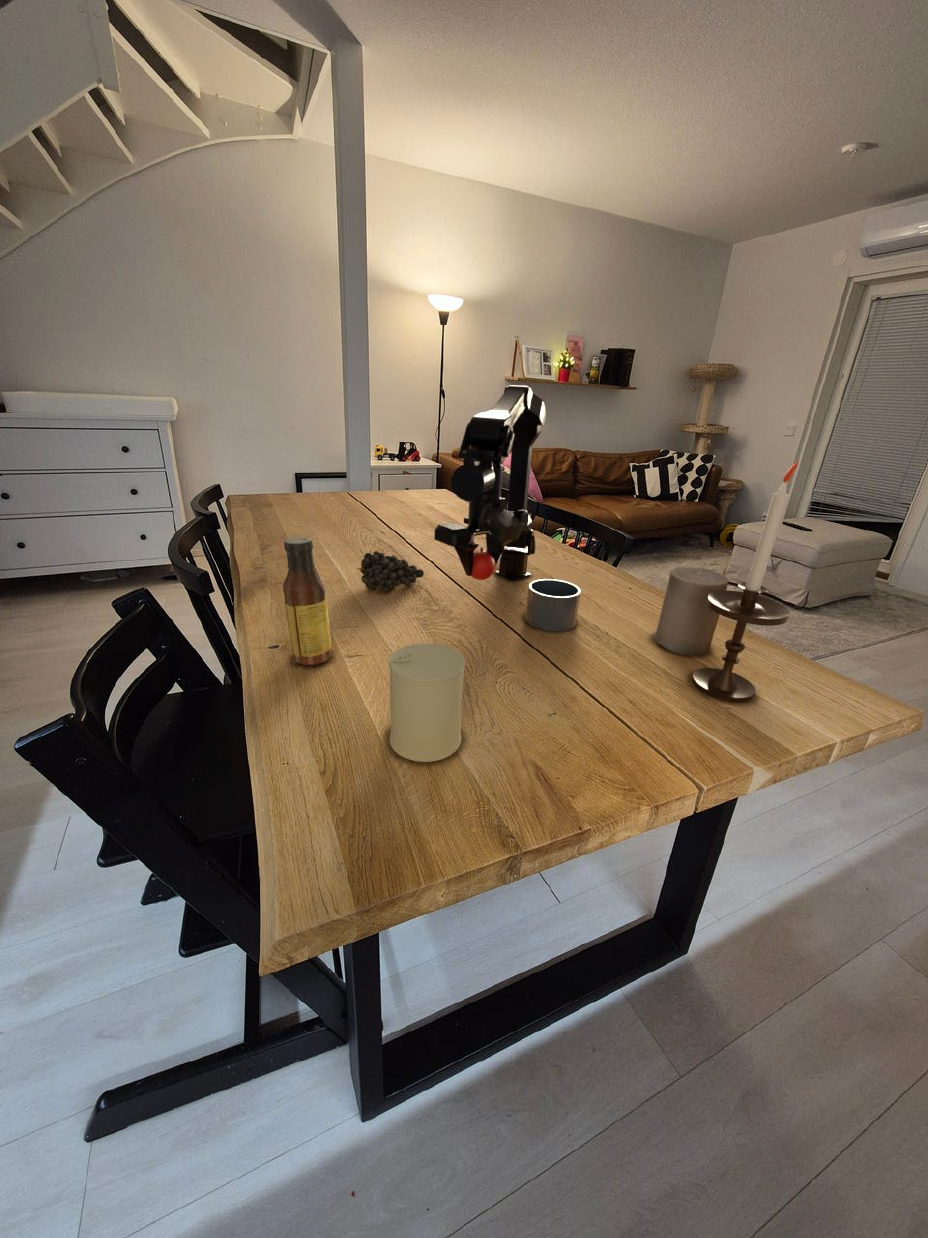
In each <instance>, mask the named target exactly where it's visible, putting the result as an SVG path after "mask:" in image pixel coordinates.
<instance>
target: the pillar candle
mask: <svg viewBox="0 0 928 1238" xmlns="http://www.w3.org/2000/svg"><path fill="white" fill-rule="evenodd" d="M729 580H730V579H729V578H728V577H727V576H726V575H724V574H722V573H721V572H719V571H715V570H713V569H708V568H704V567H699V566H688V565H687V566H685V565H683V566H676V567H671V568H670V569H669V576H668V579H667V584H666V589H665V593H664V597H663V601H662V606H661V608H660V609H661V610H660V614H659V619H658V622H657V626H656V627H657V628H656V631H655V636H654V641H655V642H656V643H657V644H658V645H660V646H662V647H663V648H665V649H666V650H668V651H670V652H672V653H676V654H679V655H685V656H702V655H705V654H707V653H709V652H710V648H711V645H712V641H713V638H714V635H715V631H716V628H717V626H718V625H717V624H718V621H719V618H720V616H721V615H720V614H718V613H716V612H714V611H712V610H711V609H710V608H709V607H708V606H707V599H708V596H709V594H710V593H712V592H715V591H727V589H728V586H729Z"/></svg>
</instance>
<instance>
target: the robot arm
mask: <svg viewBox="0 0 928 1238" xmlns="http://www.w3.org/2000/svg"><path fill="white" fill-rule="evenodd" d="M546 416H547V409H546V406H545V401H544V400H543V399H542V398H541V397H539V396H538V395H537V394H535V393H533V389H532V387H529V386H528V385H515V384H510V385H508V386H505V387H504V390H503V394H502V395H501V396H500V398H498V399H497V402H495V403H494V405H493V406H492V407H491V409H490V410H488V411H482V412H478V413H477V414H475V415H473V416H472V417H471V418H470V420H469V422H468V423H467V424H466V426H465V430H464V433H463V438H462V440H461V444H460V448H459V452H458V459H462V460H463V461H462V462H463V464H462V465H460V466H458V467H457V468H456V469H455V470H454V471H453V473H452V476H451V478H450V483H451V489H452V491H453V493H454V495H455V496H456V497H457V498H458V499H460V500H463V501H464V502H467V503H468V515H467V516H465V517H463V524H466V525H467V526H464V525H462V524H459V523H456V522H447V523H440V524H437V526H436V527H435V528H434V537H433V539H434V541H438V542H439V543H442V544H445V545H447V546H450V547H452V548H454V550H455V552H456V554H457V556H458V558H459V561H460V563H461V566H462V568H463V571H464V574H465V575H466V576H468V577H471V574H472V568H473V556H474V552H475V550H476V549H477V548H478V547H479V546H480V544H479V543H476V542H475V537H477V536H483V535H485V544H486V546H485V547H486V552H487V553H489V554H490V555H491V556H492V557H493V559H494V561H495V568H496V566H497V564H498V562H499V566H498V570H494V573H495V574H497V575H499V576H502V577H504V578H506V579H509V580H511V581H515V580H519V579H523V578H528V577H531V575H532V574H531V573H530V572H527V569H528V568H527V567H528V558H529V556H530V557H531V555H535V553H536V537H535V534H534V533H535V532H534V530H533V520H532V518H531V516H530V514H529V512H528V510H527V509H528V498H529V488H530V477H531V467H532V455H533V446H534V444H535V442H536V441H537V440H538V438H539V436H540V435H541V433H542V430H543V429H542V428H543V426H544V425H545V422H546V418H547V417H546ZM510 454H511V455H510ZM509 456H510V469H509V478H508V479H509V482H508V490H507V491H508V492H507V501H506V498H505V497H502V489H503V488H502V486H503V474H504V462H505V461H506V458H509Z"/></svg>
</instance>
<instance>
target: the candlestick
mask: <svg viewBox="0 0 928 1238" xmlns="http://www.w3.org/2000/svg"><path fill="white" fill-rule="evenodd" d="M798 464H799V459H796V462H795V463H794V464H793V465H792V466H791V467H789V469H788V470H787V472H786V473H785V475H784V476H783V478H782V479H783V480H782V482H783V483H781V486H780V488H779V489H778V491H777V492H774V493H773V494H772V498H771V501H770V504H769V508H768V511H767V515H766V518H765V521H764V524H763V528H762V531H761V533H760V538H759V541H758V544H757V547H756V550H755V554H754V558H753V561H752V564H751V567H750V570H749V574H748V577H747V581H746V582H739V583H737V586H738V587H739V588H740V589H743V591H740V590H739V591H737V590H726V591H715V592H712V593H710V594H709V596H708V599H707V606H708V607H709V608H710V609H711V610H712V611H714V612H716V613H718V614H720V615H719V616H722V617H724V618H727V619H729V620H732V621H735V622H736V623H735V628H734V630H733V633H732V636H731V639H727V640H726V641H725V642H724V647H725V649H726V654H723V655H722V656H721V660H722V661H724V663H723V666H722V668H718V667H717V668H716V667H703V668H698V669H696V670H695V671H693V674H692V678H691V683H692V685H693V686H694V687H695V688H696V689H697V690H698V691H699V692H701V693H702V694H704V695H706V696H708V697H710V698H713V699H714V700H715V699H716V700H719V701H722V702H727V703H734V704H742V703H747V702H750V701H752V700H753V698H754V697H755V693H756V687H755V685H754V683H752V682H751V681H750V680H748V679H747V678H746V677H744V676H742V675H740V674H738V673H735V672H734V671H733V670H734V667H735V665H738V664H739V663H740V658H738V656H739V654H741V653H743V651H745V649H746V645H745V643H744V642H742V641H743V638H744V634H745V631H746V629H747V624H748V625H756V626H765V627H774V626H780V625H784V624H785V623H787V622H788V620H789V617H790V615H791V613H790V610H789V608H788V607H787V606H786V605H784V604H782V603H781V602H778V601H776V600H774V599H771V598H768V597H767V596H763V595H760V593H768V592H769V589H768V588H767V587H765V586H763V585H762V583H763V581H764V577H765V575H766V571H767V567H768V565H769V561H770V558H771V555H772V551H773V549H774V547H775V542H776V539H777V537H778V533H779V529H780V526H781V523H782V520H783V517H784V514H785V510H786V507H787V504H788V501H789V498H790V495H789V494H788V493H787V487H788V482H789V480H790V479H791V477H792V476H793V474H794V472H795V470H796V469H797V468H798Z"/></svg>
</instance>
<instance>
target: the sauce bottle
mask: <svg viewBox="0 0 928 1238" xmlns="http://www.w3.org/2000/svg"><path fill="white" fill-rule="evenodd" d="M313 543H314V542H313V539H312V538H310V537H308V536H293V537H288V538H286V539H284V540H283V547H284V551H285V552H286V558H287V559H286V560H287V568H288V571H287V574H286V577H285V580H284V581H283V585H282V589H283V594H284V606H285V607H284V608H285V614H286V615H285V616H286V620H287V628H288V633H289V642H290V648H291V653H292V657H293V660H294V661H295V662H296V663H297V664H300V665H302V666H317V665H320V664H323V663H325V662H327V661H328V660H329V659H330V658H331V656H332V638H331V628H330V619H329V618H330V617H329V610H328V602H327V593H326V592H327V591H326V588H325V586H324V584H323V582H322V579H321V577H320V575H319V572H318V570H317V568H316V566H315V561H314V554H313V549H314V544H313Z"/></svg>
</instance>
